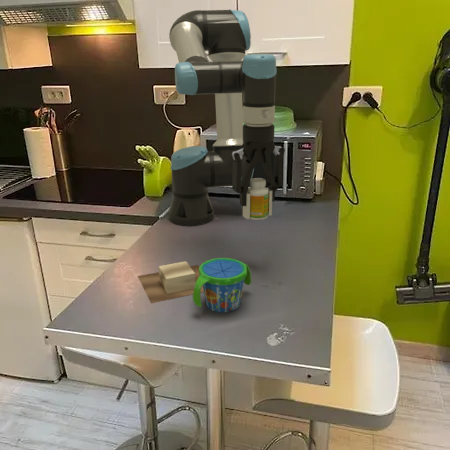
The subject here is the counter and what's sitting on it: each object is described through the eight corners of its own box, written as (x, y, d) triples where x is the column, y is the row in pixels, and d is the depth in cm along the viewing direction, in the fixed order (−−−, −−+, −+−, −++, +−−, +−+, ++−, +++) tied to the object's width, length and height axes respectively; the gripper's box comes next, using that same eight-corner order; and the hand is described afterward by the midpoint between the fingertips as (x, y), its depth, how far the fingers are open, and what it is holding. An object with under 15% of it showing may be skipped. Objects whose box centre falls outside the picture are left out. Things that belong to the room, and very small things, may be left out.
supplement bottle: (266, 221, 120) (267, 183, 116) (245, 220, 121) (245, 182, 117) (268, 213, 125) (269, 177, 121) (248, 212, 126) (248, 176, 122)
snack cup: (237, 288, 118) (237, 250, 114) (264, 306, 110) (265, 266, 106) (182, 308, 110) (179, 268, 106) (207, 330, 102) (206, 287, 98)
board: (138, 280, 122) (137, 276, 122) (198, 268, 128) (197, 264, 127) (151, 307, 110) (151, 303, 110) (216, 293, 116) (216, 289, 115)
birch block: (159, 280, 120) (158, 266, 118) (186, 275, 122) (186, 261, 120) (167, 294, 114) (166, 278, 112) (195, 288, 116) (195, 273, 114)
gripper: (229, 129, 107) (229, 226, 116) (300, 123, 114) (296, 214, 123) (216, 124, 114) (218, 216, 123) (285, 118, 120) (281, 205, 129)
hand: (257, 215), depth 123 cm, fingers closed on supplement bottle, 5 cm apart
